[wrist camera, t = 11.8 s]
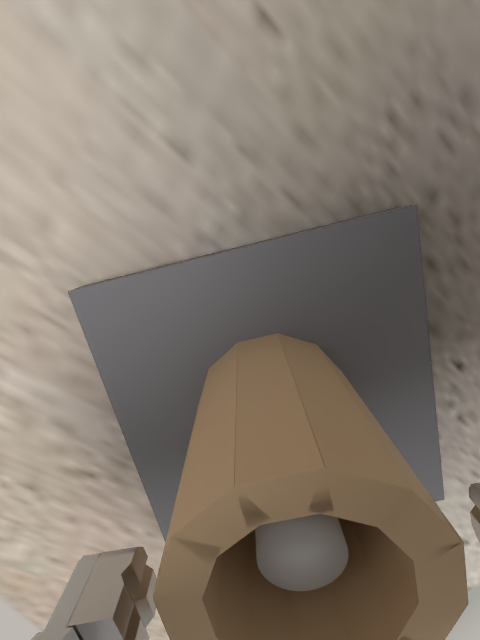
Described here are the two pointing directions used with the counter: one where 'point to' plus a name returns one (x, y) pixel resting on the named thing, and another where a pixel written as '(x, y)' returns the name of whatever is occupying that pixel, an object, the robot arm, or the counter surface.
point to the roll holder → (262, 320)
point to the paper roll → (301, 510)
